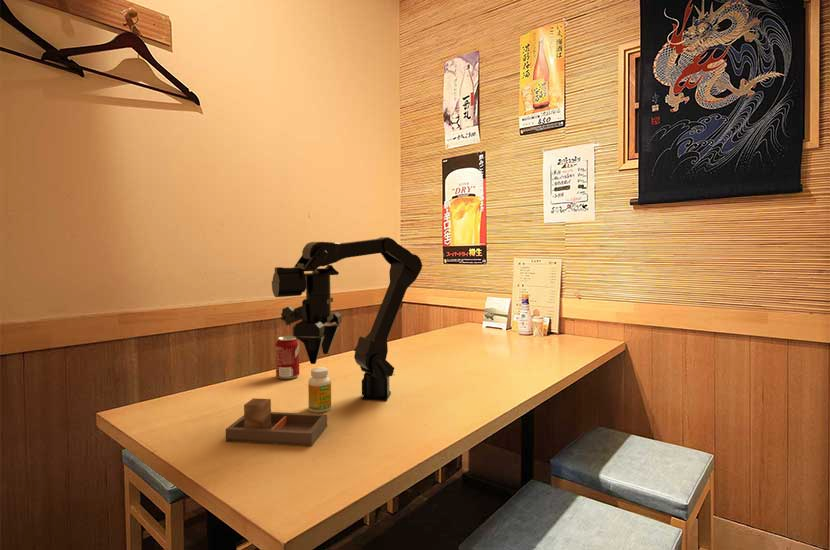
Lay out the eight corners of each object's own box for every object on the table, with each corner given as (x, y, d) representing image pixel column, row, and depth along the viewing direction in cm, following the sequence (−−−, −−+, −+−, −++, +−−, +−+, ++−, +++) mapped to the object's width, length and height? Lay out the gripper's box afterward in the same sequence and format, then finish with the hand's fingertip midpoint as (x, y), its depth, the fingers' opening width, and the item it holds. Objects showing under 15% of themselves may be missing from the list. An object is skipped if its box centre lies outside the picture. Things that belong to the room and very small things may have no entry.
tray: (327, 426, 99) (327, 414, 99) (311, 446, 89) (311, 433, 89) (249, 422, 101) (249, 410, 101) (225, 441, 91) (225, 429, 91)
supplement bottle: (320, 414, 106) (319, 373, 105) (303, 409, 109) (303, 370, 108) (336, 407, 110) (335, 368, 110) (319, 403, 113) (319, 365, 113)
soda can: (293, 381, 132) (292, 340, 131) (271, 379, 133) (271, 339, 132) (303, 374, 138) (302, 335, 137) (283, 373, 139) (282, 335, 139)
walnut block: (271, 426, 98) (270, 399, 97) (263, 433, 94) (262, 405, 93) (253, 425, 98) (252, 398, 98) (244, 433, 94) (243, 404, 94)
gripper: (300, 290, 118) (301, 348, 119) (269, 299, 99) (271, 368, 100) (341, 290, 117) (342, 349, 118) (318, 299, 98) (319, 370, 99)
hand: (319, 358), depth 109 cm, fingers open, 9 cm apart
